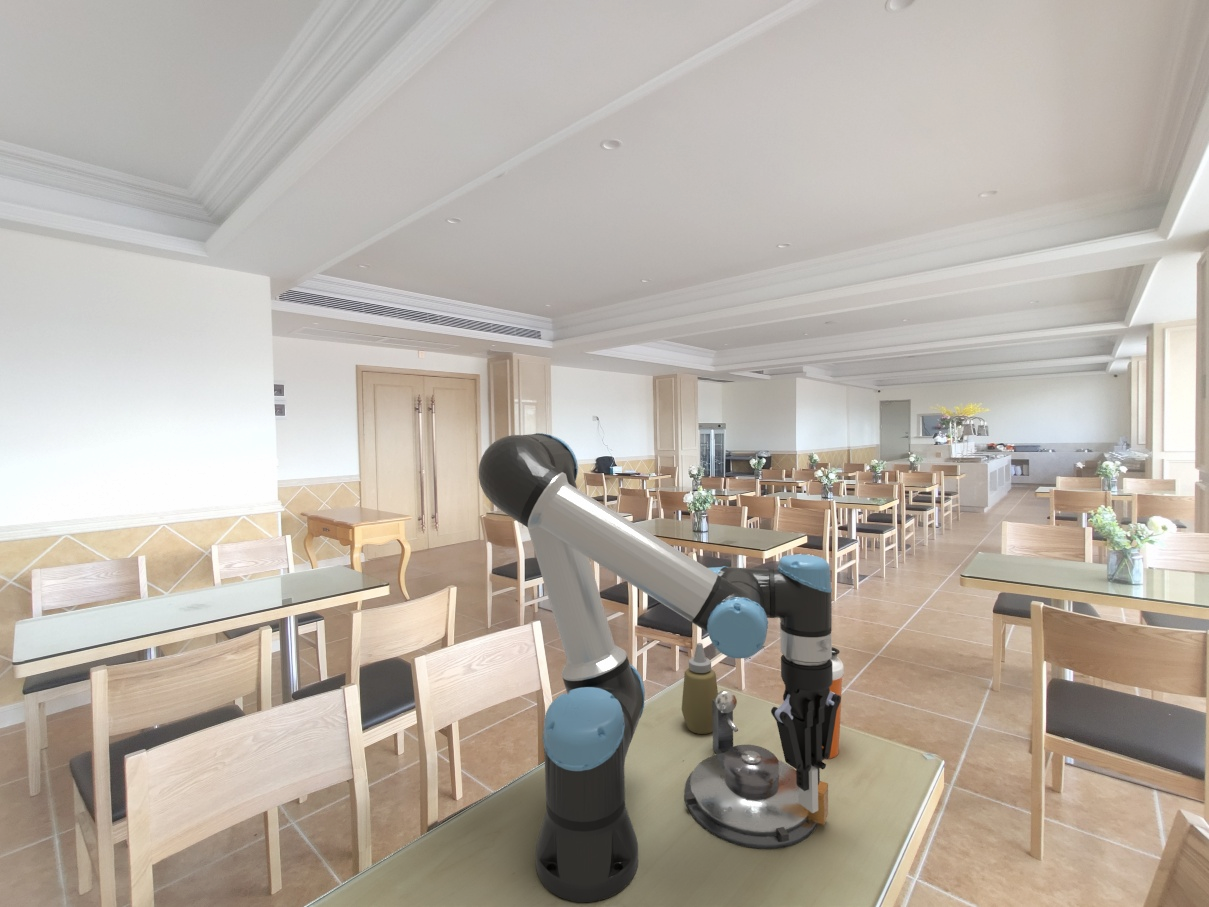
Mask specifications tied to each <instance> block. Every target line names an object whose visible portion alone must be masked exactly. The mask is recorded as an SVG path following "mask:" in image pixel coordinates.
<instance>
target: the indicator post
mask: <svg viewBox="0 0 1209 907" xmlns="http://www.w3.org/2000/svg"><path fill="white" fill-rule="evenodd" d="M737 701H738V700H737V697H736V696H735V694H734V693H733V692H732V691H731V690H727V689H724V690H721V691H718V694H717V696H716V698H715V699H712V716H713V732H712V750H713V751H714V752H715V755H717V754H719V749H722V748H725V749H726V750H728V749H730V748H731V747H734V733H738V731H739V728H738V727H737V726H736V724H735V723H734V713H733V712H734V710H735V709H736V707H737V703H738V702H737Z"/></svg>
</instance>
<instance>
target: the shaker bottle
mask: <svg viewBox="0 0 1209 907" xmlns="http://www.w3.org/2000/svg"><path fill="white" fill-rule="evenodd" d="M839 654H841V653H840V650H839V649H838V648H837V647H833V646H832V657H831V658H830V660H831V661H832V673H833V682H832V685H831V686H830V687H829V688H830V691H831V692H833V693H835V694H837V695H839V696H841V697H842V694H843V692H842V687H843V677H844V675H845V674H844V663H843V662H842V660H841V659H840V658H839V657H838V655H839ZM841 709H842V700H841V701H840V704H839V707H838V709H837V713H836V719H835V726H834V732H833V739H832V745H831V752H830V757H829V758H828V759H827V760H830V759H834V758H836V757H837V756H838V755H839V752H840V735H841V734H840V732H841V731H840V730H841V714H842V713H841V711H842V710H841ZM822 748H823V746H822ZM823 760H826V759H825V758H824V759H823Z"/></svg>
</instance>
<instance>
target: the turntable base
mask: <svg viewBox="0 0 1209 907" xmlns="http://www.w3.org/2000/svg"><path fill="white" fill-rule="evenodd" d="M692 772H693V770H692V771H691V773H690V774H689V775H688V777H687V779H686V782H685V785H684V796H685V795H686V794H691V775H692ZM685 804H686V803H685ZM686 807H687V809H688V811H689V813H690V815H691V816H692V818H693V820H695V821H696V822H697V823H698V824H699V825H700V826H701V827H702V828H703V829H704V830H706V831H707V832H709V834H712V835H713V836H715V837H717V838H718V839H721V840H723V841H725V842H727V843H731V844H734V845H737V846H741V847H744V848H748V849H756V850H776V849H777V850H779V849H784V848H788V847H792V846H794V845H797V844H799V843H801V842H803V841H804V840H806V839H807V838H809V837H810V836H811V835H813V833H814V831H815V830H816V829H817V826H818V824H819V823H817V822H814V821H811V820H807V821H806V822H805V823H804V824H803V825H802V826H801V827H799V828H797V829H796V830H794V831H791V832H788V834H789V841H784V842H781V840H780V839H779V838H778V836H777V835H774V836H756V835H749V834H744V833H740V832H736V831H733V830H730V829H728V828H725V827H723V826H721V825H719V824H717V823H716V822H714V821H712V820H711V819H710V818H708V817H707V816H706V815H705V814H704V813H702V811H701V810H700V809H699V808H698V807H697V805H696V804H692V805H687V804H686Z"/></svg>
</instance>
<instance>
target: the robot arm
mask: <svg viewBox="0 0 1209 907" xmlns="http://www.w3.org/2000/svg"><path fill="white" fill-rule="evenodd" d="M577 459H578V458H577V457H576V454H575V452H574V450H573V449H572V448H571V447H570V445H569V444H568V443H566V442H565V441H564V440H562V439H561V438H559V437H556V436H554V435H551V434H547V433H543V432H542V433H539V432H537V433H534V434H532V433H529V434H511V435H507V436H503V437H500V438H499V439H497V440H495V441H494V442H493V443H492V444H490V445H489V446H488V447H487V449H485V451H484V452H483V454H482V457H481V459H480V462H479V463H478V464H479V465H478V481H479V486H480V488H481V490H482V492H483V494H484V495H485V496H486V498H487V499H488V500H489V501H490V502H491V504H493V505H494V506H495V507H496V508H498V510H500V511H502V512H503V513H505V515H507V516H509V517H510V518H512V519H513V520H514V521H516V522H518V523H519V524H522V525H523V526H525V527H526V528H527V529H528V533H529V537H530V540H531V543H532V547H533V550H534V553H535V557H536V560H537V563H538V568H539V571H540V574H541V577H542V580H543V581H542V582H543V584H544V588H545V591H546V594H547V598H548V600H549V605H550V607H551V611H552V614H553V617H554V621H555V624H556V627H557V631H558V634H559V635H558V636H559V638H560V641H561V645H562V648H563V651H564V655H565V658H566V663H565V665H564V667H563V669H562V671H561V678H562V680H563V683H564V687H565V688H564V689H565V691H566V693H561V694H560V695H559V696H557V697H556V698H555V699H554V700H553V701H552V702H551V703H550V705H549V706H548V708H547V710H546V712H545V715H544V721H543V722H544V725H543V729H542V730H543V733H542V743H543V752H544V777H545V802H546V805H545V806H546V810H545V815H544V818H543V820H542V825H541V828H540V832H539V836H538V838H537V842H536V846H535V870H536V874H537V876H538V878H539V880H540V883H541V884H542V885H543V886H544V887H545V889H547V891H549V892H550V893H552V894H554V895H555V896H557V897H558V898H562V899H564V900H567V901H571V902H577V903H589V902H590V903H591V902H598V901H602V900H605V899H608V898H610V897H612V896H614V895H616V894H618V893H619V892H621V891H622V890H623V889H624V888H626V886H628V885H629V884H630V882H631V881H632V879H633V878H634V876H635V875H636V872H637V870H638V867H639V845H638V844H639V843H638V838H637V836H636V833H635V830H634V827H633V823H632V821H631V818H630V815H629V812H628V809H627V808H626V791H625V790H626V788H625V784H626V782H625V780H626V779H625V777H626V776H625V763H626V757H627V754H628V751H629V747H630V745H631V742H632V740H633V737H634V734H635V732H636V730H637V727H638V725H639V721H640V720H641V717H642V715H643V713H644V708H645V698H646V697H645V696H646V694H645V693H646V692H645V691H646V690H645V684H644V681H643V679H642V677H641V674H640V672H639V671H638V670H637V669H636V667H635V666H634V665H632V664H630V661H629V658H628V654H627V651H626V650H625V649H623V648H621V647H620V646H617V645H616V644H615V641H614V638H613V634H612V631H611V628H610V624H609V622H608V618H607V614H606V611H605V608H604V605H603V604H604V603H603V601H602V597H601V595H600V591H599V587H598V585H597V581H596V578H595V574H594V570H593V567H592V563H591V561H590V560H592V561H593V562H595V563H597V564H599V565H600V566H601V567H603V568H605V569H607V570H608V571H609V572H611V573H612V574H614V575H616V576H617V577H619V578H620V579H622V580H623V581H626V583H629V584H630V585H632V586H633V587H635V588H636V589H639V590H640V591H642V593H644V594H646V595H648V596H649V597H651V598H652V599H654V600H655V601H658V603H661V605H664V606H665V607H667V608H668V609H670V610H672V611H673V612H675V613H677V615H680V616H681V617H683V618H684V619H686V620H687V621H689V622H690V623H692V624H694V625H695V626H697V627H698V628H700V629H701V630H703V631H704V632H706V633H708V637H709V639H710V641H711V643H712V645H713V646H714V647H715V648H716V650H717V651H718V652H719V653H721V654H722V655H724V656H726V657H729V658H732V659H737V660H738V659H748V658H750V657H752V656H754V655H755V654H757V653H758V652H760V650H761V649H762V648H763V647H764V645H765V642H766V639H767V633H768V628H769V620H768V619H775V618H777V619H779V620H780V622H779V624H780V625H779V626H780V628H779V630H780V636H779V637H780V640H779V641H780V642H779V643H780V653H781V654H782V655H781V656H780V677H781V680H782V681H783V684H784V688H785V689H784V692H783V695H782V700H783V702H782V703H781V704H780V705H779V707H776V706H773V707H772V708H771V711H770V712H771V715H772V716H773V718H774V720H775V721H776V726H777V730H778V734H779V738H780V744H781V747H782V753H783V758H784V760H785V762H784V763H785V764H787V765H789V766H790V767H792V768H794V769H795V770H796V784H797V786H798V787H799V804H801V805H802V806H803V807H805V808H806V809H807V810H809V811H810V812H812V813H814V812H816V811H818V785H819V782H820V781H821V780H820V779H821V778H820V773H821V771H820V769H821V770H825V769H826V767H827V764H826V763H824V762H823V760H829V759H830V758H829V757H830V752H831V745H832V739H833V732H834V726H835V719H836V713H837V709H838V707H839V704H840V701H841V702H842V695H841V696H839V695H837V694H835V693H833V692H831V691H830V688H829V687H830V686H831V685H832V682H833V673H832V661H831V660H830V658H831V657H832V647H833V645H832V630H833V628H832V625H833V623H832V622H833V621H832V609H833V608H832V603H833V602H832V593H833V589H832V584H831V582H832V581H831V570H830V568H831V566H830V564H829V562H827V560H826V559H825V558H824V557H823V558H822V557H820V556H816V555H811V554H803V553H802V554H799V553H798V554H797V553H796V554H786V555H783V556H782V557H780V558H779V562H778V566H777V567H776V568H758V567H757V568H756V567H755V568H751V567H750V568H749V567H729V566H727V565H725V566H719V567H718V566H716V567H707V566H706V565H704V564H701V563H700V562H699V561H697V560H695V559H693V558H692V557H690V556H689V555H686V554H685V553H684V552H682V551H680V550H678V549H677V548H675V547H674V546H672V545H670V544H669V543H667V542H665V541H664V540H662V539H660V538H659V537H657V536H655V535H654V534H652V533H651V532H649V531H647V530H645V529H644V528H643V527H640V526H639V525H638V524H636V523H634V522H633V521H631V520H629V519H627V518H626V517H624V516H623V515H620V514H619V513H618V512H616V511H614V510H613V509H611V508H610V507H608V506H606V505H604V504H603V503H601V502H599V501H597V499H595V498H593V497H591V496H590V495H588V494H586V493H585V492H583V491H581V490H579V489H578V486H577V482H576V481H577V477H578V473H579V465H578V460H577ZM822 746H823V748H822ZM824 758H825V759H824ZM828 758H829V759H828Z"/></svg>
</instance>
